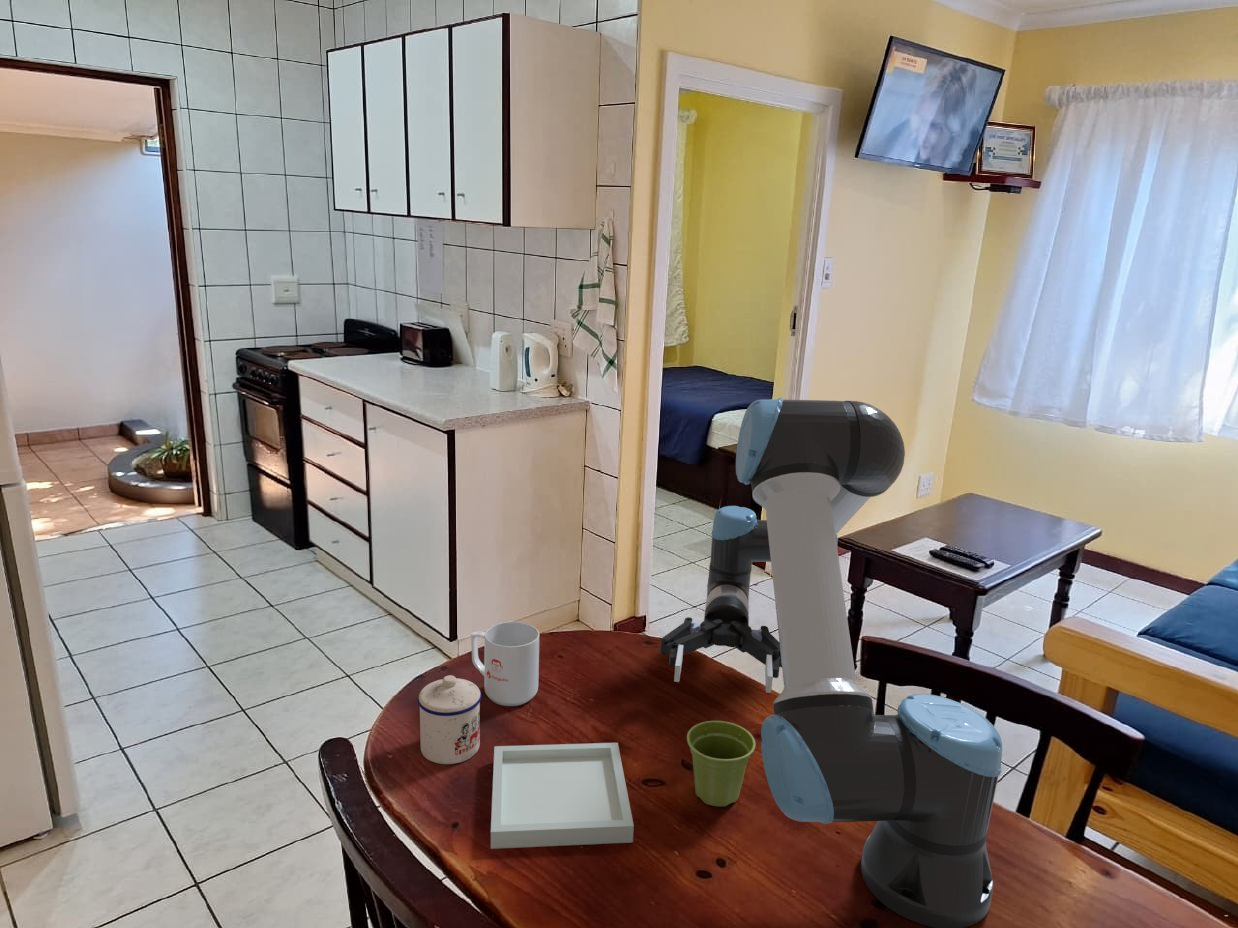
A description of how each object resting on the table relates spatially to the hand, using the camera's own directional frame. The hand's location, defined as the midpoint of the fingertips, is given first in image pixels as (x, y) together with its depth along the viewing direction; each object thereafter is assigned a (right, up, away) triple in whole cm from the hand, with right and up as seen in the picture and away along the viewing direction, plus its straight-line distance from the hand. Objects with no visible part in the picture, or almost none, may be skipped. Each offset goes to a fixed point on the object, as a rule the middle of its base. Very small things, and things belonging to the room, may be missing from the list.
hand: (722, 679), depth 126 cm
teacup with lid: (-40, -10, +2) cm, 41 cm away
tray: (-24, -14, -9) cm, 29 cm away
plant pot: (-2, -14, -7) cm, 16 cm away
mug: (-35, -6, +16) cm, 39 cm away
